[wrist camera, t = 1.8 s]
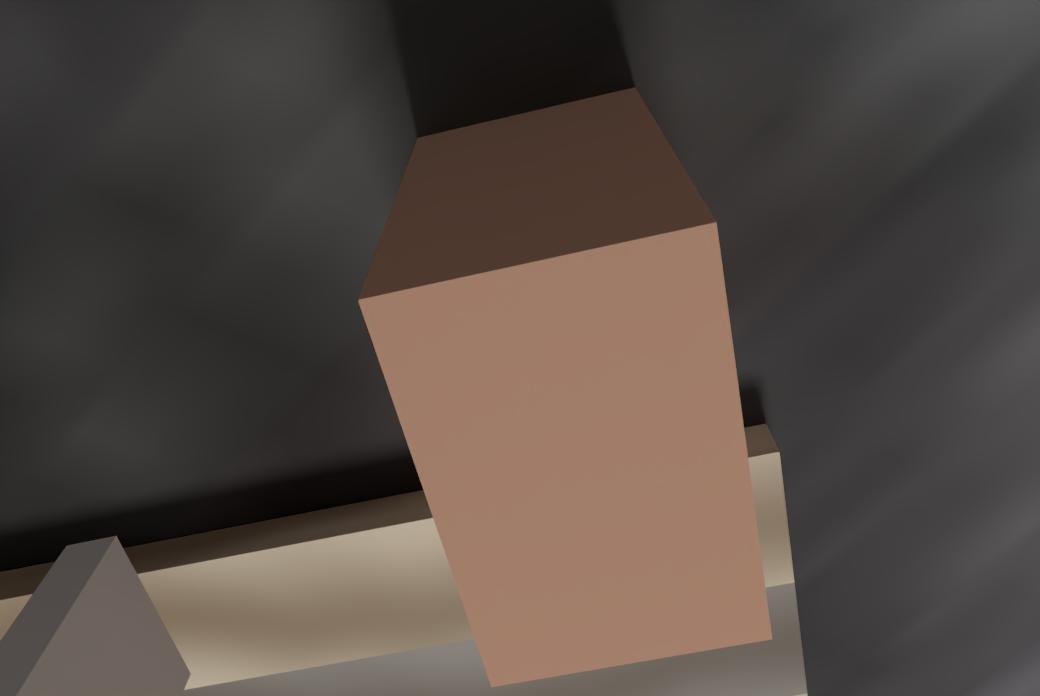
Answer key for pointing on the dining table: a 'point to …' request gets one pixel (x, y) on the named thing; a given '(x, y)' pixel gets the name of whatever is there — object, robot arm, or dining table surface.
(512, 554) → the block
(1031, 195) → the dining table surface
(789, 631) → the board
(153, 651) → the robot arm
